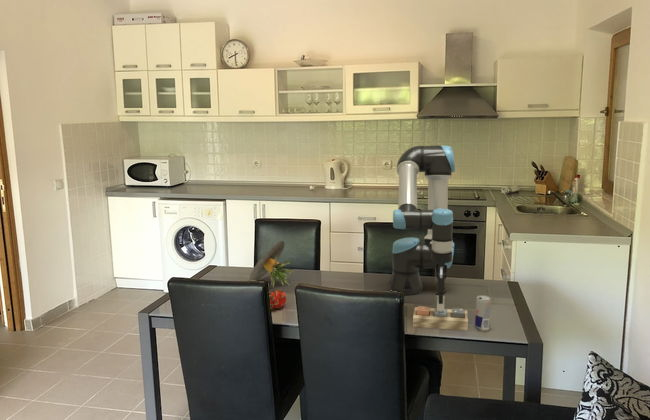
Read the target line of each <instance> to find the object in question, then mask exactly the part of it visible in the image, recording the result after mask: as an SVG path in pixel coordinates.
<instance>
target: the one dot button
mask: <svg viewBox="0 0 650 420" xmlns="http://www.w3.org/2000/svg"><path fill="white" fill-rule="evenodd" d="M429 308H430V306H424V305H418V306H417V315H422V316H429Z"/></svg>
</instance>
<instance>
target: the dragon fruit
mask: <svg viewBox="0 0 650 420" xmlns="http://www.w3.org/2000/svg"><path fill="white" fill-rule="evenodd" d="M268 293H269V295H270V304H271V308H270V309H272V310H273V309H274V310H276V309H280V310H281V309H283V307H285V304H286V303H287V300H288V298H287V296H286V292H285V291H282V290H281V289H277V290H275V289H274V290H272V291H269V292H268Z"/></svg>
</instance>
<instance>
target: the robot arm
mask: <svg viewBox="0 0 650 420" xmlns="http://www.w3.org/2000/svg"><path fill="white" fill-rule="evenodd" d="M455 161H456V160H455V156H454V150H453V148H452V147H451V146H450V145H439V144H438V145H415V146H412V147H410V148H408V149H407V150H405V151H404V152H403V153H402V154H401V155H400V157H399V159H398V161H397V164H396V173H397V175H398V201H397V202H398V206H397V209H394V210H393V212H392V214H393V215H392V226H393V228H394V229H397V230H398V229H399V230H427V234H426V235H425V236H424V238H423V241H420V238H418V237H412V236H411V237H403V238H399V239H397V240H395V241H394V242H393V244H392V252H391V253H392V274H391V277H390V278H389V279H390V280H389V282H388V291H389V290H392V291H397V292H403V293H404V294H405V295H404V296H410V295H411V296H412V295H417V294H420V293H422V292H423V283H422V279H421V277H420V270H419V269H435V272H436V278H437V290H436V292H435V296H436V309H437V311H442V312H444V309H445V299H446V297H445V294H447V290H445V283H446V282H445V281H446V278H447V271H448V269H450V268H451V266H452V264H453V259H454V253H455V242H454V241H453V229H454V227H453V226H454V224H453V223H454V213H453V210H451V209H448V205H449V203H448V201H449V199H448V197H449V194H448V192H449V179H450V178H451V177H452V173H454V172H456V162H455ZM419 173H424V178H425V179H426V180H427V209H418V174H419Z"/></svg>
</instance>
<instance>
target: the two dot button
mask: <svg viewBox="0 0 650 420" xmlns="http://www.w3.org/2000/svg"><path fill="white" fill-rule="evenodd" d="M451 309H452V318H464V310H465V308H456V307H455V308H453V307H452V308H451Z"/></svg>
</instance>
